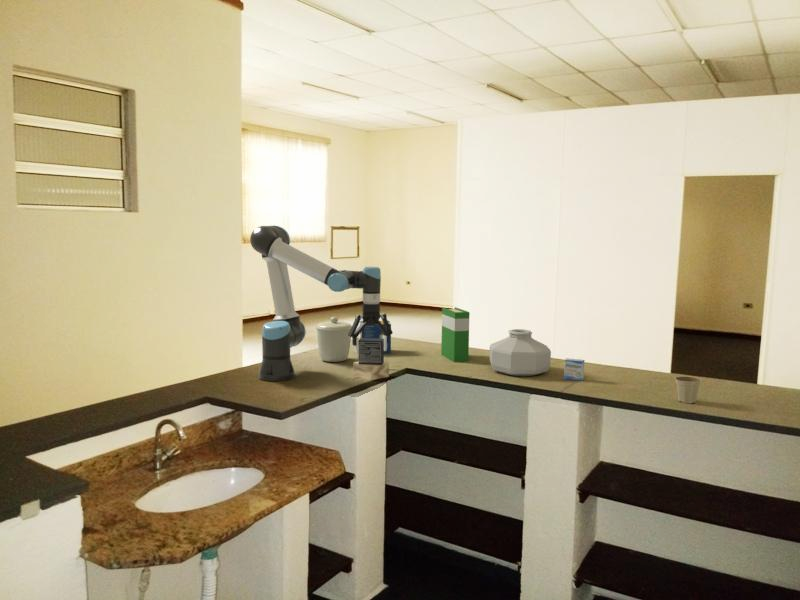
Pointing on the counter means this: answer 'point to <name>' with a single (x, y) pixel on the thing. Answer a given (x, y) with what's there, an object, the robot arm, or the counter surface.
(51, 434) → the counter surface
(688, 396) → the flower pot
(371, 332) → the protein box
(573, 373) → the medicine box
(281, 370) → the robot arm
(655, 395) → the counter surface
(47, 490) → the counter surface
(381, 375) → the oak block
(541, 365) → the pot
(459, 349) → the hardback book
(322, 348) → the canister
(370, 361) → the small box
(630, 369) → the counter surface
